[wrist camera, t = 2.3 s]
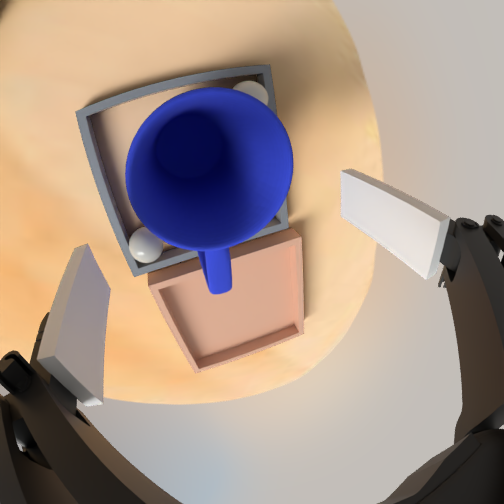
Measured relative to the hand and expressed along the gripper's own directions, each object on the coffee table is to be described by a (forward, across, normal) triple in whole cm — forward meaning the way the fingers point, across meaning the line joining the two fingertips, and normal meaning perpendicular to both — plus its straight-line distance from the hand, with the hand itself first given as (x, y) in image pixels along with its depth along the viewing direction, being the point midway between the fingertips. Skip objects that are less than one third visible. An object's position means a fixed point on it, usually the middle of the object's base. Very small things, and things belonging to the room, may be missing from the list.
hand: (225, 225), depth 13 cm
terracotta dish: (+11, +1, -15) cm, 19 cm away
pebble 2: (+11, +5, +5) cm, 13 cm away
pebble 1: (+11, -6, -4) cm, 13 cm away
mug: (+11, 0, +1) cm, 11 cm away
